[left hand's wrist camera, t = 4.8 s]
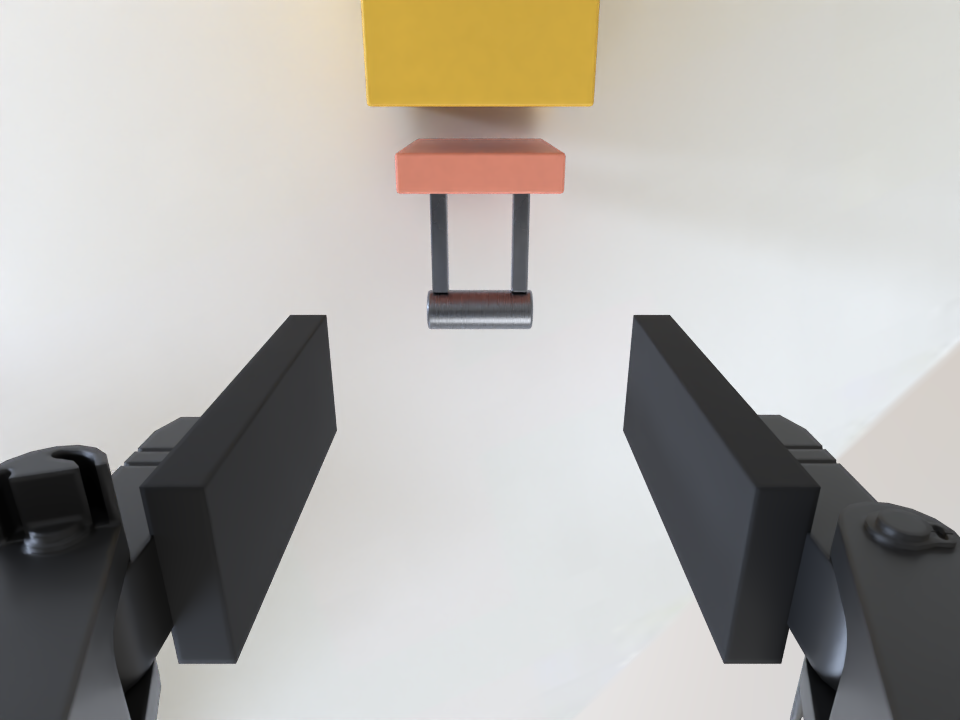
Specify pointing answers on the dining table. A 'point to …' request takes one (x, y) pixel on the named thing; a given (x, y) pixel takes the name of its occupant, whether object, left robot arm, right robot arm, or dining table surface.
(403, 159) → the drawer
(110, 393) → the dining table surface
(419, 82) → the cabinet
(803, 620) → the left robot arm
